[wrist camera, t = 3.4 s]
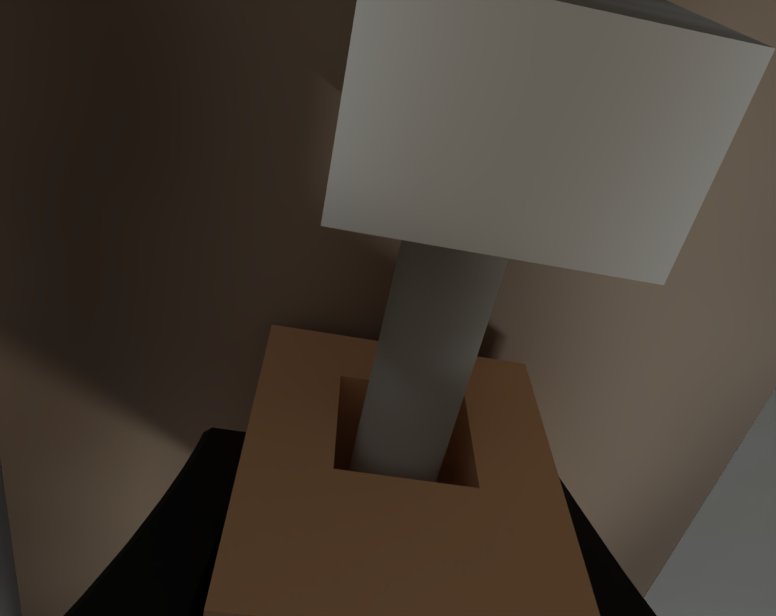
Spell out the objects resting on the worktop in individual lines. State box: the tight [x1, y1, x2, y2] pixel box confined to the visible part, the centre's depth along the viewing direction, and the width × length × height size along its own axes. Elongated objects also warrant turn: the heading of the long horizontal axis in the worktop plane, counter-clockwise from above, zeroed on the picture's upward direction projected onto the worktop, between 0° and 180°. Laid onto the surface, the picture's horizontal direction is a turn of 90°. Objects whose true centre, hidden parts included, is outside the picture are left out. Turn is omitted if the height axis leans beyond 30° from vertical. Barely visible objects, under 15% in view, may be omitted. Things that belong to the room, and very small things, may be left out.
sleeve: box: [203, 325, 600, 616], centre depth 10 cm, size 4×4×5 cm
